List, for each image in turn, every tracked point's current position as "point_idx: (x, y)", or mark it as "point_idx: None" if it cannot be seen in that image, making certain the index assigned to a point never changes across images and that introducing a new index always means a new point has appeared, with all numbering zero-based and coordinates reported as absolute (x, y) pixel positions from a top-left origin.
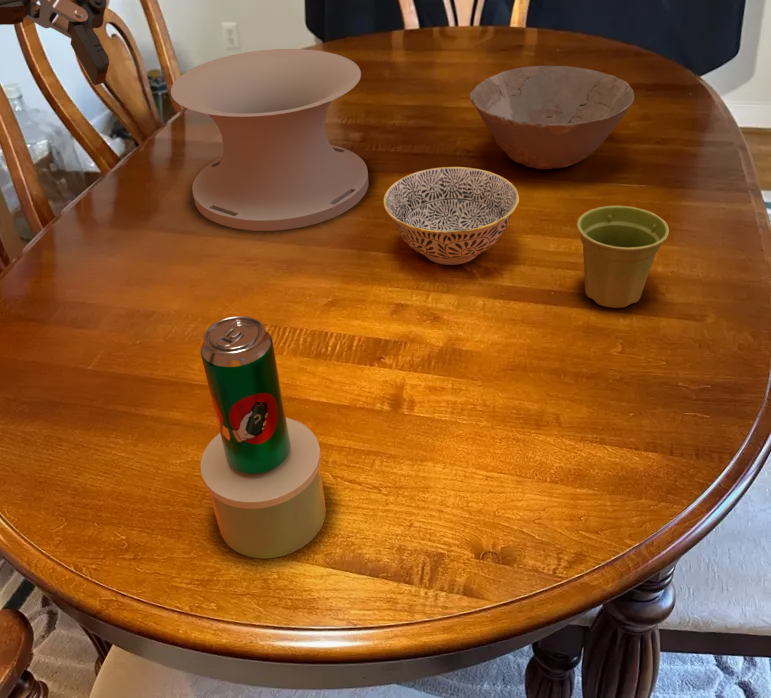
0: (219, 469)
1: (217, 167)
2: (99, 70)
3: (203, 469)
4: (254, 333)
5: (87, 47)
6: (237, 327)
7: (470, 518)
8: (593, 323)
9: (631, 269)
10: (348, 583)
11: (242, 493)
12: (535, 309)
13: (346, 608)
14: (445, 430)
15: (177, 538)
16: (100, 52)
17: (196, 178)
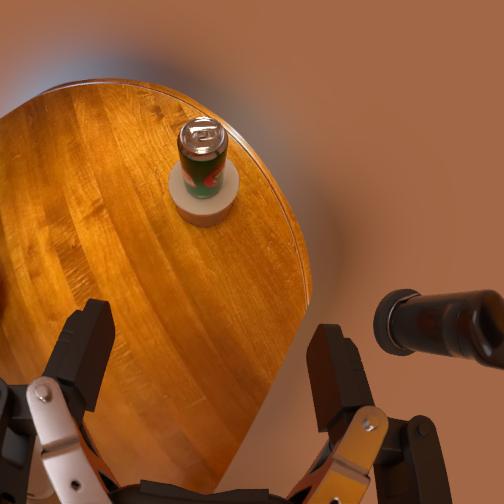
0: (226, 190)
1: (31, 486)
2: (102, 300)
3: (232, 197)
4: (193, 124)
5: (85, 336)
6: (193, 142)
7: (146, 130)
8: (4, 177)
9: None
10: None
11: (229, 168)
12: (4, 208)
13: None
14: (102, 174)
15: (248, 224)
16: (71, 329)
17: (47, 496)
